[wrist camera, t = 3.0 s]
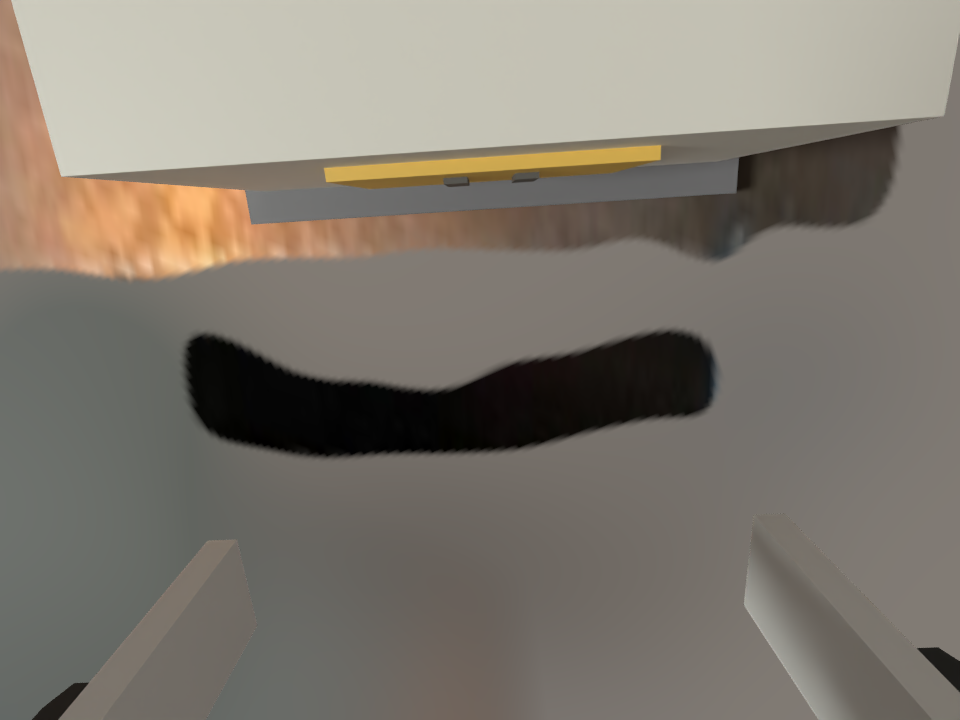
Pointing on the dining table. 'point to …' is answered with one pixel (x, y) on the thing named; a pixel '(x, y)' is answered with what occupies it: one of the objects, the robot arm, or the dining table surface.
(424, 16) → the box
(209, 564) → the robot arm
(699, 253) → the dining table surface
